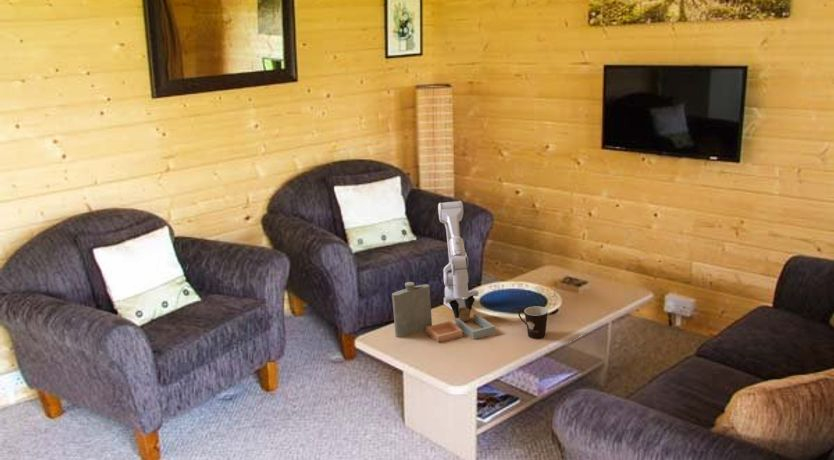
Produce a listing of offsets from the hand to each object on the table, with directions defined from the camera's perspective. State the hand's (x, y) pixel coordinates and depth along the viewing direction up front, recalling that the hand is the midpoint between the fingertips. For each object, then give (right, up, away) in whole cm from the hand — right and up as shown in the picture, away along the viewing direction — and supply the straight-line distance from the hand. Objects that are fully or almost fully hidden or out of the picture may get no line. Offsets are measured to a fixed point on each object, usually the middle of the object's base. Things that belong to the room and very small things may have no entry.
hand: (462, 315), depth 305 cm
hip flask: (-19, -5, -6) cm, 21 cm away
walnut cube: (0, -1, 0) cm, 1 cm away
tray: (-7, -6, -11) cm, 15 cm away
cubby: (+4, -4, -8) cm, 10 cm away
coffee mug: (+26, -5, -16) cm, 31 cm away
